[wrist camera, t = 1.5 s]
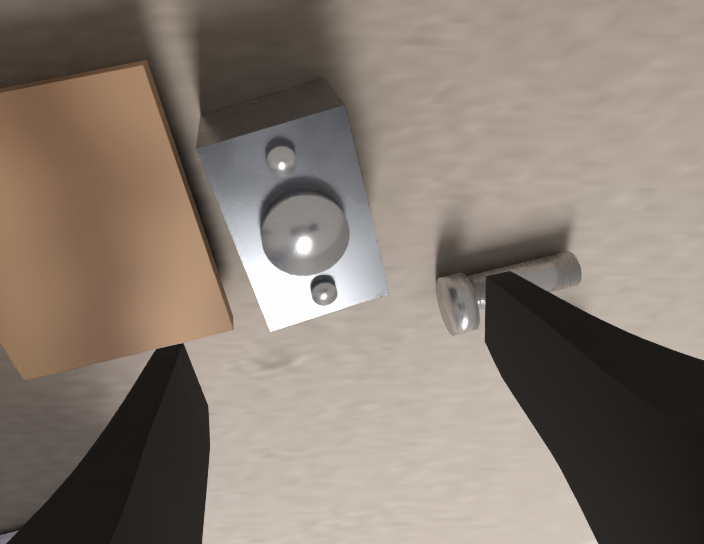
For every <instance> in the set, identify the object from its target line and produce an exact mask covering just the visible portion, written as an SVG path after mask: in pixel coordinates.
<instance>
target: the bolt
mask: <svg viewBox="0 0 704 544" xmlns="http://www.w3.org/2000/svg"><path fill="white" fill-rule="evenodd" d="M507 271H511V272H513V273H515V274H517V275H519V276H521V277H523V278H524V279H526V280H528V281H530V282H532V283H533V284H535V285H537V286H539V287H541V288H542V289H544V290H546V291H548V292H552V291H556V290H560V289H564V288H568V287H572V286H576V285H578V284H579V283H580V281H581V268H580V264H579V262H578V260H577V258H576V257H575V255H574V254H573V253H571V252H569V251H567V252H563V253H559V254H555V255H551V256H547V257H542V258H538V259H534V260H530V261H526V262H522V263H518V264H514V265H510V266H506V267H502V268H497V269H493V270H489V271H485V272H481V273H477V274H473V275H469V276H466V275H465V274H464V273H457V274H453V275H449V276H445V277H440V278H438V279H437V282H436V293H437V300H438V305H439V309H440V312H441V315H442V318H443V321H444V323H445V325H446V327H447V329H448V331H449V332H450V334H451V335H453V336H454V335H458V334H462V333H466V332H470V331H474V330H477V329H478V327H479V323H480V316H479V310H480V309H484V308H485V288H486V276H489V275H493V274H498V273H502V272H507Z"/></svg>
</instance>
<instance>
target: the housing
mask: <svg viewBox="0 0 704 544" xmlns="http://www.w3.org/2000/svg"><path fill="white" fill-rule="evenodd" d="M196 150H197V153H198V155H199V157H200V160H201V162H202V165H203V167H204V170H205V172H206V175H207V177H208V179H209V182H210V184H211V187H212V189H213V192H214V194H215V197H216V199H217V201H218V204H219V206H220V209H221V211H222V214H223V216H224V219H225V221H226V223H227V226H228V228H229V231H230V233H231V236H232V238H233V241H234V243H235V245H236V248H237V250H238V253H239V255H240V258H241V260H242V263H243V265H244V267H245V270H246V272H247V275H248V277H249V280H250V282H251V285H252V287H253V290H254V292H255V294H256V297H257V299H258V302H259V304H260V307H261V309H262V312H263V314H264V316H265V319H266V321H267V324H268V326H269V329H270V331H273V330H276V329H280V328H283V327H286V326H289V325H292V324H295V323H299V322H302V321H305V320H308V319H311V318H314V317H318V316H321V315H324V314H327V313H330V312H333V311H337V310H340V309H343V308H346V307H349V306H352V305H356V304H359V303H362V302H365V301H368V300H371V299H375V298H378V297H381V296H384V295H387V294H390V293H389V289H388V284H387V280H386V276H385V272H384V268H383V263H382V259H381V255H380V251H379V246H378V242H377V238H376V234H375V230H374V225H373V221H372V217H371V213H370V209H369V204H368V200H367V196H366V192H365V188H364V183H363V179H362V175H361V171H360V166H359V162H358V158H357V154H356V150H355V145H354V141H353V137H352V133H351V129H350V124H349V120H348V116H347V112H346V108H345V104H344V103H343V102H342V101H341V99H340V98H339V97H338V96H337V94H336V93H335V92H334V90H333V89H332V88H331V87H330V85H329V84H328V83H327V81H326V80H325V79H321V80H317V81H314V82H311V83H307V84H304V85H300V86H297V87H294V88H290V89H287V90H283V91H280V92H277V93H273V94H270V95H266V96H263V97H259V98H256V99H253V100H249V101H246V102H242V103H239V104H236V105H232V106H229V107H225V108H222V109H218V110H215V111H212V112H208V113H205V114H201V116H200V124H199V131H198V139H197V146H196Z"/></svg>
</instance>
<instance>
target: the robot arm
mask: <svg viewBox="0 0 704 544" xmlns="http://www.w3.org/2000/svg"><path fill="white" fill-rule="evenodd" d="M485 343H486V345H487V347H488V349H489V351H490V354H491V356H492V358H493V360H494V362H495V364H496V366H497V368H498V370H499V372H500V374H501V376H502V378H503V380H504V381H505V383H506V384H507V386H508V387H509V389H510V391H511V392H512V394H513V395H514V397H515V398H516V400H517V401H518V403H519V404H520V406H521V407H522V409H523V411H524V412H525V414H526V415H527V417H528V418H529V420H530V421H531V423H532V424H533V426H534V427H535V429H536V430H537V432H538V433H539V435H540V436H541V438H542V439H543V441H544V442H545V444H546V445H547V447H548V449H549V450H550V452H551V453H552V455H553V457H554V458H555V460H556V462H557V463H558V465H559V467H560V469H561V470H562V472H563V474H564V476H565V478H566V480H567V482H568V484H569V486H570V488H571V490H572V492H573V494H574V496H575V498H576V499H577V501H578V503H579V505H580V507H581V509H582V511H583V513H584V515H585V517H586V520H587V522H588V524H589V526H590V528H591V530H592V532H593V534H594V536H595V538H596V540H597V542H598V544H704V360H701V359H698V358H694V357H691V356H688V355H685V354H683V353H680V352H677V351H674V350H671V349H669V348H666V347H663V346H661V345H658V344H656V343H653V342H650V341H648V340H645V339H643V338H640V337H638V336H636V335H633V334H631V333H629V332H626V331H624V330H622V329H620V328H618V327H615V326H613V325H611V324H609V323H607V322H605V321H603V320H601V319H599V318H597V317H595V316H593V315H591V314H589V313H587V312H585V311H583V310H581V309H579V308H577V307H575V306H573V305H571V304H569V303H568V302H566V301H564V300H562V299H560V298H558V297H557V296H555V295H553V294H551V293H549V292H548V291H546V290H544V289H542V288H541V287H539V286H537V285H535V284H533V283H532V282H530V281H528V280H526V279H524V278H523V277H521V276H519V275H517V274H515V273H513V272H511V271H507V272H502V273H498V274H493V275H489V276H486V288H485ZM209 453H210V432H209V412H208V404H207V402H206V399H205V397H204V394H203V392H202V389H201V387H200V384H199V382H198V379H197V377H196V374H195V371H194V369H193V366H192V364H191V361H190V359H189V356H188V354H187V351H186V349H185V346H184V344H183V343H182V344H177V345H173V346H168V347H164V348H159V349H156V351H155V352H154V353H153V355H152V356H151V358H150V360H149V361H148V363H147V364H146V366H145V368H144V369H143V371H142V372H141V374H140V376H139V377H138V379H137V381H136V382H135V384H134V385H133V387H132V389H131V390H130V392H129V393H128V395H127V397H126V398H125V400H124V401H123V403H122V404H121V406H120V407H119V409H118V410H117V412H116V413H115V415H114V416H113V418H112V419H111V421H110V422H109V424H108V425H107V427H106V428H105V430H104V431H103V432H102V434H101V435H100V436H99V438H98V439H97V440H96V442H95V443H94V445H93V446H92V447H91V449H90V450H89V451H88V453H87V454H86V456H85V457H84V458H83V460H82V461H81V462H80V463H79V465H78V466H77V467H76V468H75V470H74V471H73V472H72V473H71V474H70V476H69V477H68V478H67V479H66V480H65V481H64V483H63V484H62V485H61V486H60V487H59V488H58V489H57V491H56V492H55V493H54V494H53V495H52V496H51V498H50V499H49V500H48V501H47V502H46V503H45V504H44V505H43V506H42V507H41V508H40V509H39V510H38V511H37V512H36V513H35V514H34V515H33V516H32V517H31V519H30V520H29V521H28V522H27V523H26V524H25V525H24V526H23V527H22V528H21V529H20V530H18V531H14V532H10V533H7V534H3V535H0V544H202V535H203V524H204V512H205V501H206V490H207V478H208V466H209Z"/></svg>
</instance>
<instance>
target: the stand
mask: <svg viewBox="0 0 704 544" xmlns="http://www.w3.org/2000/svg"><path fill="white" fill-rule="evenodd" d="M231 330H233V315H232V312H231V309H230V306H229V303H228V300H227V297H226V294H225V291H224V288H223V285H222V282H221V279H220V276H219V273H218V270H217V267H216V264H215V261H214V258H213V255H212V252H211V249H210V246H209V243H208V241H207V238H206V235H205V232H204V229H203V226H202V223H201V220H200V217H199V214H198V211H197V208H196V205H195V202H194V199H193V196H192V193H191V190H190V187H189V184H188V181H187V178H186V175H185V172H184V169H183V166H182V163H181V160H180V157H179V154H178V151H177V148H176V145H175V142H174V139H173V136H172V133H171V130H170V128H169V125H168V122H167V119H166V116H165V113H164V110H163V107H162V104H161V101H160V98H159V95H158V92H157V89H156V86H155V83H154V80H153V77H152V74H151V71H150V68H149V65H148V62H147V60H144V61H139V62H133V63H128V64H123V65H118V66H113V67H107V68H102V69H97V70H92V71H87V72H82V73H76V74H71V75H66V76H61V77H56V78H51V79H45V80H40V81H35V82H30V83H25V84H19V85H14V86H9V87H4V88H0V344H1V346H2V347H3V349H4V350H5V352H6V353H7V355H8V356H9V358H10V359H11V361H12V363H13V364H14V366H15V367H16V369H17V370H18V372H19V373H20V375H21V376H22V378H23V379H24V381H25V380H29V379H33V378H37V377H42V376H46V375H50V374H54V373H58V372H62V371H66V370H70V369H74V368H79V367H83V366H87V365H91V364H95V363H99V362H103V361H107V360H111V359H116V358H120V357H124V356H128V355H132V354H136V353H140V352H144V351H149V350H153V349H157V348H161V347H165V346H169V345H173V344H177V343H181V342H186V341H190V340H194V339H198V338H202V337H206V336H210V335H214V334H218V333H223V332H227V331H231Z"/></svg>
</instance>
